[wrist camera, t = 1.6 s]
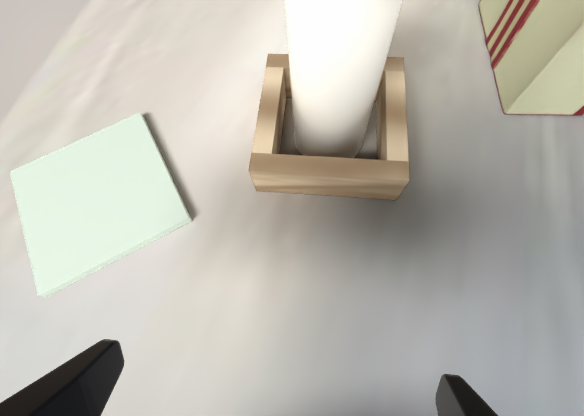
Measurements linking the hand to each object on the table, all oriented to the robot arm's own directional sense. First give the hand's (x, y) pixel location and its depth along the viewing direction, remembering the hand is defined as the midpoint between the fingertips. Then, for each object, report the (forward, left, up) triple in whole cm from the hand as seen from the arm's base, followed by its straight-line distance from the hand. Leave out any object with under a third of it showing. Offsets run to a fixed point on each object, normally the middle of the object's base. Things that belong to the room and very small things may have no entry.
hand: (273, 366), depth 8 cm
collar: (+9, -15, -13) cm, 22 cm away
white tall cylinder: (+10, -16, -13) cm, 23 cm away
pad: (+20, +2, -13) cm, 24 cm away
